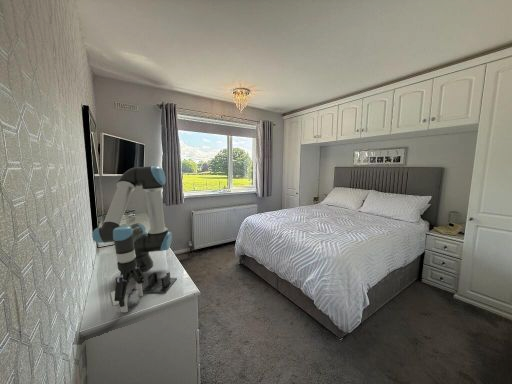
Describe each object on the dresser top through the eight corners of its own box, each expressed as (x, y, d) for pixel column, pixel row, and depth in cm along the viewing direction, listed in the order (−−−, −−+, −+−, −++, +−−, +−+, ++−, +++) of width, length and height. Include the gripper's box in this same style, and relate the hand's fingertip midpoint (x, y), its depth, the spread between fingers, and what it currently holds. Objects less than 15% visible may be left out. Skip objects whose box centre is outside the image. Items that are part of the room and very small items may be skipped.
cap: (131, 299, 105) (129, 288, 104) (142, 299, 104) (141, 288, 103) (122, 308, 99) (120, 295, 98) (134, 308, 98) (133, 295, 97)
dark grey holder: (141, 292, 110) (140, 282, 109) (155, 279, 123) (153, 269, 122) (165, 292, 109) (164, 282, 108) (176, 279, 122) (175, 269, 121)
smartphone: (125, 286, 116) (130, 299, 105) (126, 287, 116) (130, 300, 105) (109, 292, 112) (112, 306, 100) (109, 293, 112) (112, 307, 100)
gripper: (134, 249, 110) (140, 289, 113) (98, 272, 87) (106, 321, 90) (148, 249, 110) (153, 288, 113) (116, 272, 87) (123, 321, 90)
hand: (132, 303), depth 101 cm, fingers open, 11 cm apart
